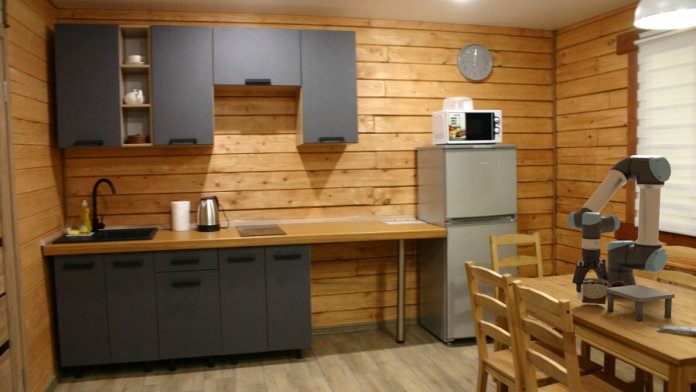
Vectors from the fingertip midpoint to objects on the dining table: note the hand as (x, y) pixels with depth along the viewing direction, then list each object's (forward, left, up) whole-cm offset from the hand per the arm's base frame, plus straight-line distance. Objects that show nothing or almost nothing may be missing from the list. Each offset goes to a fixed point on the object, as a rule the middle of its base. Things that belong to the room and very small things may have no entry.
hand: (590, 298), depth 255 cm
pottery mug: (-24, -8, -3) cm, 25 cm away
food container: (-2, 0, -2) cm, 3 cm away
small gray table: (-9, +18, -3) cm, 20 cm away
